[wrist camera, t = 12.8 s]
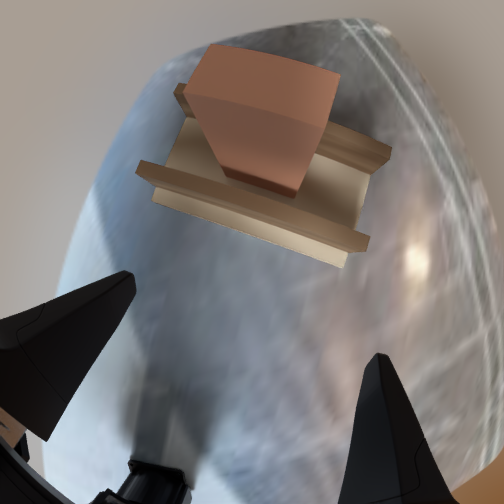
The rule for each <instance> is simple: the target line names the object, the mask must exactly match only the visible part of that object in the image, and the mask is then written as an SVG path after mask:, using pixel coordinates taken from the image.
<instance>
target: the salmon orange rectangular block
mask: <svg viewBox="0 0 504 504" xmlns="http://www.w3.org/2000/svg"><path fill="white" fill-rule="evenodd" d="M340 76H341V75H340V74H338V73H335V72H332V71H329V70H326V69H323V68H320V67H317V66H313V65H310V64H307V63H303V62H300V61H296V60H293V59H289V58H285V57H281V56H277V55H272V54H268V53H263V52H259V51H254V50H249V49H243V48H237V47H231V46H224V45H217V44H211V45H210V46H209V48H208V49H207V51H206V53H205V54H204V56H203V57H202V59H201V61H200V62H199V64H198V66H197V67H196V69H195V71H194V73H193V74H192V76H191V78H190V80H189V81H188V83H187V85H186V87H185V89H184V90H183V94H184V96H185V98H186V100H187V102H188V104H189V106H190V108H191V110H192V111H193V113H194V115H195V117H196V119H197V121H198V123H199V125H200V127H201V129H202V131H203V133H204V135H205V137H206V139H207V141H208V143H209V145H210V146H211V148H212V150H213V152H214V154H215V156H216V158H217V160H218V162H219V164H220V166H221V168H222V170H223V172H224V174H225V176H226V177H228V178H232V179H235V180H238V181H241V182H244V183H248V184H251V185H254V186H257V187H260V188H263V189H266V190H269V191H272V192H275V193H278V194H281V195H284V196H287V197H289V198H292V199H294V198H295V196H296V194H297V192H298V189H299V187H300V185H301V183H302V180H303V178H304V176H305V174H306V171H307V169H308V167H309V165H310V162H311V160H312V158H313V156H314V153H315V151H316V149H317V146H318V144H319V142H320V139H321V137H322V135H323V133H324V130H325V127H326V124H327V121H328V117H329V114H330V111H331V107H332V104H333V101H334V97H335V94H336V90H337V87H338V83H339V80H340Z"/></svg>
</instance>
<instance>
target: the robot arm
mask: <svg viewBox="0 0 504 504" xmlns="http://www.w3.org/2000/svg"><path fill="white" fill-rule="evenodd" d="M135 295H136V283H135V277H134V275H133V273H131V272H128V271H125V270H123V271H120V272H118V273H115V274H113V275H110V276H108V277H105V278H103V279H101V280H98V281H96V282H93V283H91V284H88V285H86V286H83V287H81V288H79V289H76V290H74V291H71V292H69V293H67V294H64V295H62V296H60V297H57V298H55V299H53V300H50V301H48V302H46V303H43V304H41V305H39V306H36V307H34V308H31V309H29V310H26V311H23V312H21V313H18V314H15V315H12V316H9V317H6V318H3V319H0V504H75V503H73V502H72V501H71V500H69V499H68V498H67V497H65V496H64V495H63V494H62V493H60V492H59V491H58V490H57V489H55V488H54V487H53V486H52V485H51V484H49V483H48V482H47V481H46V480H45V479H44V478H42V477H41V476H40V475H39V474H38V473H37V472H36V471H35V470H34V469H32V468H31V467H30V466H29V465H28V464H27V462H28V461H29V459H30V456H29V451H28V445H27V438H26V433H25V431H26V430H27V429H28V430H30V431H31V432H33V433H34V434H35V435H37V436H38V437H40V438H41V439H43V440H44V441H45V442H47V441H48V439H49V438H50V436H51V434H52V432H53V430H54V429H55V427H56V425H57V423H58V421H59V420H60V418H61V416H62V414H63V413H64V411H65V409H66V408H67V406H68V404H69V402H70V400H71V399H72V397H73V395H74V394H75V392H76V390H77V389H78V387H79V386H80V384H81V382H82V381H83V379H84V378H85V376H86V374H87V373H88V371H89V370H90V368H91V366H92V365H93V363H94V362H95V360H96V359H97V357H98V356H99V354H100V353H101V351H102V350H103V348H104V347H105V345H106V343H107V342H108V341H109V339H110V338H111V336H112V335H113V333H114V332H115V330H116V329H117V327H118V325H119V324H120V322H121V320H122V318H123V317H124V315H125V313H126V311H127V309H128V307H129V306H130V304H131V302H132V300H133V298H134V297H135ZM128 466H129V469H130V472H131V473H130V474H129V475H128V477H127V478H126V480H125V481H124V483H123V484H122V486H121V487H120V489H119V490H118V492H117V493H114V492H112V490H110V489H109V488H107V489H106V491H105V492H104V491H103V492H99V494H98V495H97V496H96V498H95V499H94V500H93V501H92V502H90V503H89V504H190V503H191V500H192V496H191V492H190V488H189V486H188V485H187V484H186V480H185V476H184V472H183V471H181V470H178V469H172V468H166V467H161V466H156V465H151V464H147V463H142V462H138V461H134V460H129V461H128ZM178 473H179V474H178ZM338 504H459V503H458V502H457V501H456V500H455V499H454V498H453V497H452V495H451V493H450V491H449V489H448V487H447V485H446V483H445V481H444V479H443V477H442V475H441V473H440V471H439V469H438V466H437V464H436V462H435V460H434V458H433V456H432V453H431V451H430V448H429V446H428V443H427V441H426V438H424V434H423V431H422V429H421V426H420V424H419V422H418V419H417V417H416V414H415V412H414V410H413V408H412V405H411V403H410V401H409V399H408V396H407V394H406V392H405V390H404V388H403V385H402V383H401V381H400V379H399V377H398V375H397V373H396V371H395V368H394V366H393V364H392V362H391V360H390V358H389V356H388V355H386V354H382V353H376V354H375V355H374V356H373V358H372V359H371V360H370V362H369V363H368V364H367V366H366V367H365V370H364V375H363V379H362V384H361V389H360V393H359V397H358V401H357V406H356V411H355V418H354V425H353V431H352V438H351V444H350V449H349V455H348V460H347V465H346V470H345V475H344V479H343V484H342V488H341V492H340V496H339V500H338Z"/></svg>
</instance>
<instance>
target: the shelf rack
mask: <svg viewBox="0 0 504 504" xmlns="http://www.w3.org/2000/svg"><path fill="white" fill-rule="evenodd" d="M186 85H187V84H183V83H178V85H177V87H176V89H175V91H174V92H173V94H174V96H175V97H176V99H177V101H178V102H179V104H180V106H181V108H182V109H183V111H184V113H185V115H186V116H187V118H186V120H185V122H184V124H183V126H182V128H181V130H180V132H179V134H178V137H177V139H176V141H175V143H174V145H173V148H172V150H171V152H170V154H169V157H168V159H167V161H166V164H165V166H162V165H158V164H154V163H151V162H147V161H143V160H140V163H139V165H138V167H137V170H136V172H135V173H136V174H137V175H139V176H140V177H142V178H143V179H145V180H146V181H148V182H150V183H151V184H153V185H154V186H156V189H155V191H154V194H153V196H152V199H151V201H153V202H155V203H157V204H160V205H163V206H166V207H169V208H172V209H175V210H178V211H181V212H184V213H187V214H190V215H193V216H196V217H199V218H202V219H205V220H207V221H210V222H213V223H216V224H219V225H222V226H225V227H228V228H231V229H234V230H236V231H239V232H242V233H245V234H248V235H251V236H254V237H256V238H259V239H262V240H265V241H268V242H271V243H273V244H276V245H279V246H282V247H285V248H287V249H290V250H293V251H296V252H299V253H301V254H304V255H307V256H310V257H313V258H315V259H318V260H321V261H324V262H326V263H329V264H332V265H335V266H337V267H340V268H343V267H344V264H345V261H346V258H347V255H348V253H353V252H366V249H367V246H368V243H369V240H370V236H368V235H365V234H363V233H361V232H358V231H355V230H356V226H357V223H358V220H359V216H360V213H361V209H362V206H363V202H364V198H365V195H366V191H367V187H368V183H369V179H370V175H371V174H373V173H374V172H375V171H376V170H378V169H379V168H380V167H381V166H382V165H384V164H385V163H386V162H387V161H388V160H390V155H391V150H392V147H390V146H388V145H386V144H384V143H382V142H379V141H377V140H375V139H373V138H370V137H368V136H366V135H363V134H361V133H359V132H356V131H354V130H351V129H349V128H346V127H344V126H341V125H339V124H336V123H333V122H331V121H327V124H326V127H325V130H324V133H323V135H322V137H321V139H320V142H319V144H318V146H317V149H316V151H315V153H314V156H313V158H312V160H311V162H310V165H309V167H308V169H307V171H306V174H305V176H304V178H303V180H302V183H301V185H300V187H299V189H298V192H297V194H296V196H295V198H294V199H292V198H289V197H287V196H284V195H281V194H278V193H275V192H272V191H269V190H266V189H263V188H260V187H257V186H254V185H251V184H248V183H244V182H241V181H238V180H235V179H232V178H228V177H226V176H225V174H224V172H223V170H222V168H221V166H220V164H219V162H218V160H217V158H216V156H215V154H214V152H213V150H212V148H211V146H210V145H209V143H208V141H207V139H206V137H205V135H204V133H203V131H202V129H201V127H200V125H199V123H198V121H197V119H196V117H195V115H194V113H193V111H192V110H191V108H190V106H189V104H188V102H187V100H186V98H185V96H184V94H183V90H184V89H185V87H186Z"/></svg>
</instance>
